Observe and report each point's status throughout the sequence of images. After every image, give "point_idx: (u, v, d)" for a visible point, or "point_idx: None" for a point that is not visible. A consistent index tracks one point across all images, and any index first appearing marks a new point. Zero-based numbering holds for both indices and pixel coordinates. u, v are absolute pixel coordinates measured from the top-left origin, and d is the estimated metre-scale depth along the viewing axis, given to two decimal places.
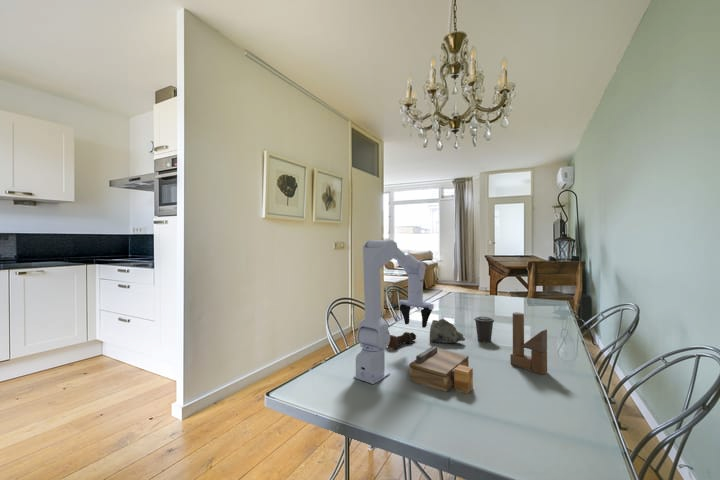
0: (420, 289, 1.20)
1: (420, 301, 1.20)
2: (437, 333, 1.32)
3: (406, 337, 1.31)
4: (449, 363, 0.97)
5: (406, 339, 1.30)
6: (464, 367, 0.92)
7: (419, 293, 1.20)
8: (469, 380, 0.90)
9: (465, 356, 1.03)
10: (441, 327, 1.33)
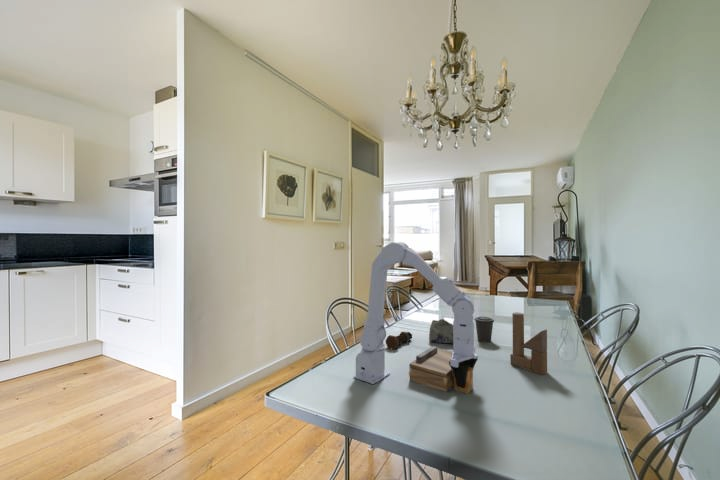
0: (460, 336, 0.89)
1: (456, 352, 0.90)
2: (436, 333, 1.32)
3: (404, 337, 1.31)
4: None
5: (404, 339, 1.31)
6: None
7: (455, 340, 0.90)
8: (469, 380, 0.90)
9: None
10: (440, 328, 1.32)
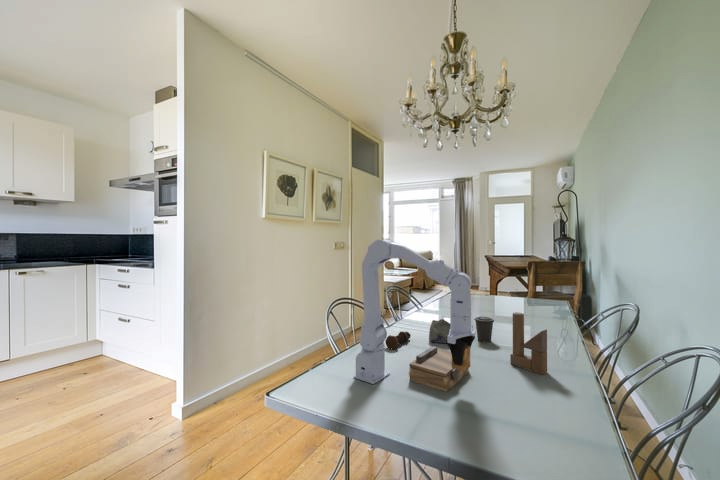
0: (456, 313, 0.88)
1: (454, 329, 0.88)
2: (436, 333, 1.32)
3: (403, 336, 1.32)
4: (449, 363, 0.97)
5: (403, 338, 1.31)
6: None
7: (452, 318, 0.89)
8: (466, 358, 0.88)
9: None
10: (440, 328, 1.32)
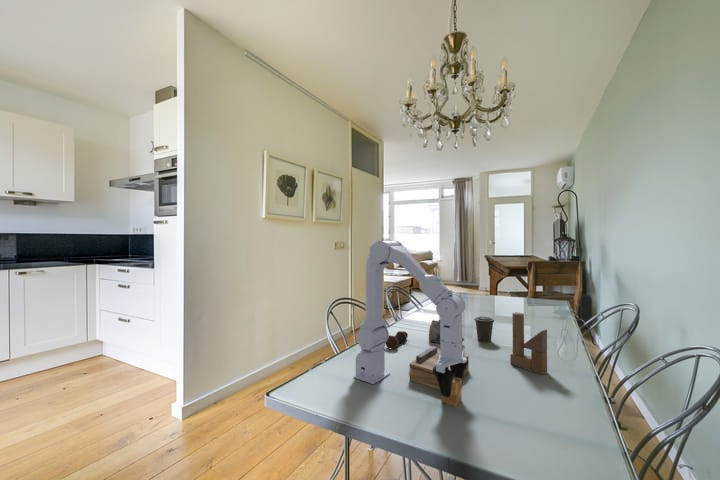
0: (444, 338, 0.83)
1: (443, 355, 0.83)
2: (436, 333, 1.32)
3: (401, 336, 1.32)
4: None
5: (402, 338, 1.32)
6: None
7: (442, 343, 0.83)
8: (457, 392, 0.82)
9: (465, 356, 1.03)
10: None
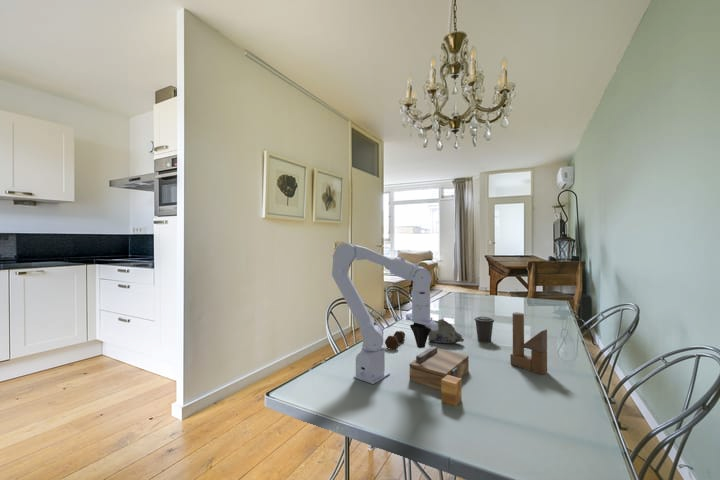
0: (419, 303, 0.97)
1: (423, 318, 0.97)
2: (436, 333, 1.32)
3: (400, 336, 1.32)
4: (449, 363, 0.97)
5: (400, 338, 1.32)
6: (452, 378, 0.85)
7: (422, 308, 0.97)
8: (457, 392, 0.82)
9: (465, 356, 1.03)
10: (440, 328, 1.32)
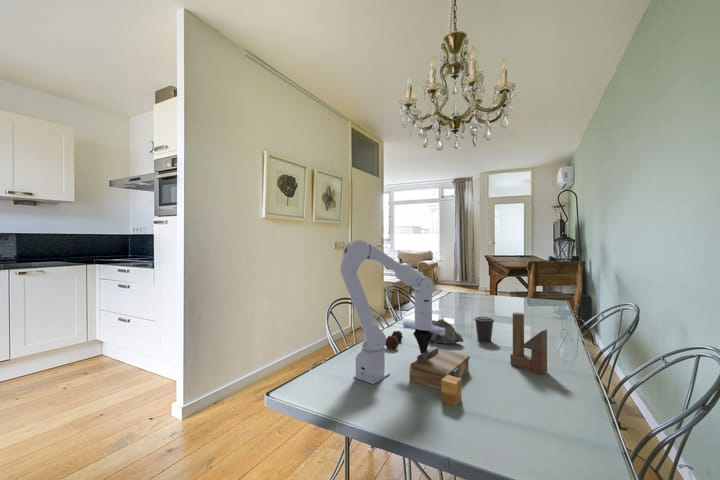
0: (424, 311, 1.01)
1: (429, 325, 1.02)
2: None
3: (398, 336, 1.33)
4: (451, 363, 0.97)
5: (399, 338, 1.32)
6: (452, 378, 0.85)
7: (428, 315, 1.01)
8: (457, 392, 0.82)
9: (466, 356, 1.03)
10: None
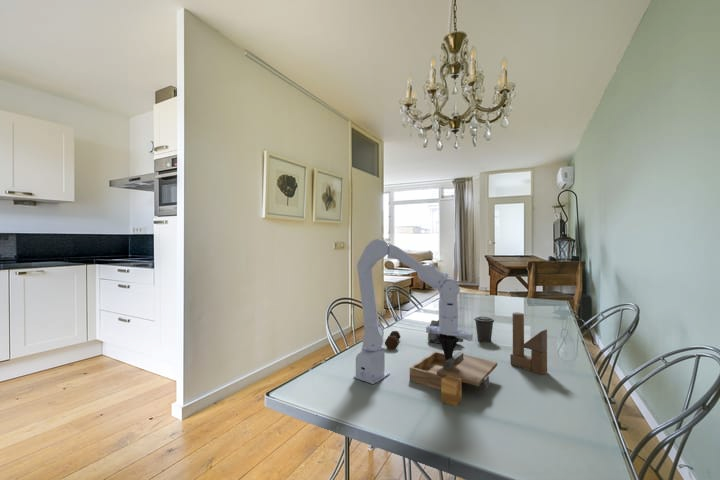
0: (447, 315, 0.96)
1: (455, 329, 0.96)
2: None
3: (397, 336, 1.33)
4: (479, 370, 0.92)
5: (397, 338, 1.32)
6: (452, 378, 0.85)
7: (454, 319, 0.96)
8: (457, 392, 0.82)
9: (494, 363, 0.97)
10: None
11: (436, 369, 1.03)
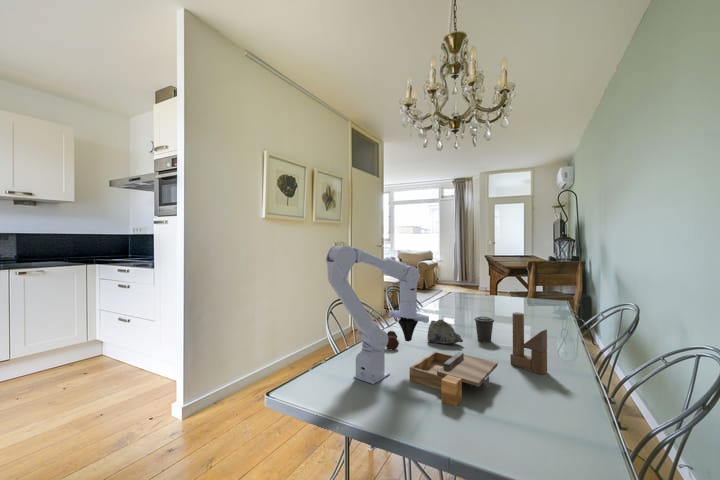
0: (410, 299, 1.04)
1: (413, 313, 1.04)
2: (434, 333, 1.31)
3: (394, 336, 1.33)
4: (479, 370, 0.91)
5: None
6: (452, 378, 0.85)
7: (412, 303, 1.04)
8: (457, 392, 0.82)
9: (494, 363, 0.97)
10: (439, 328, 1.32)
11: (436, 369, 1.03)
